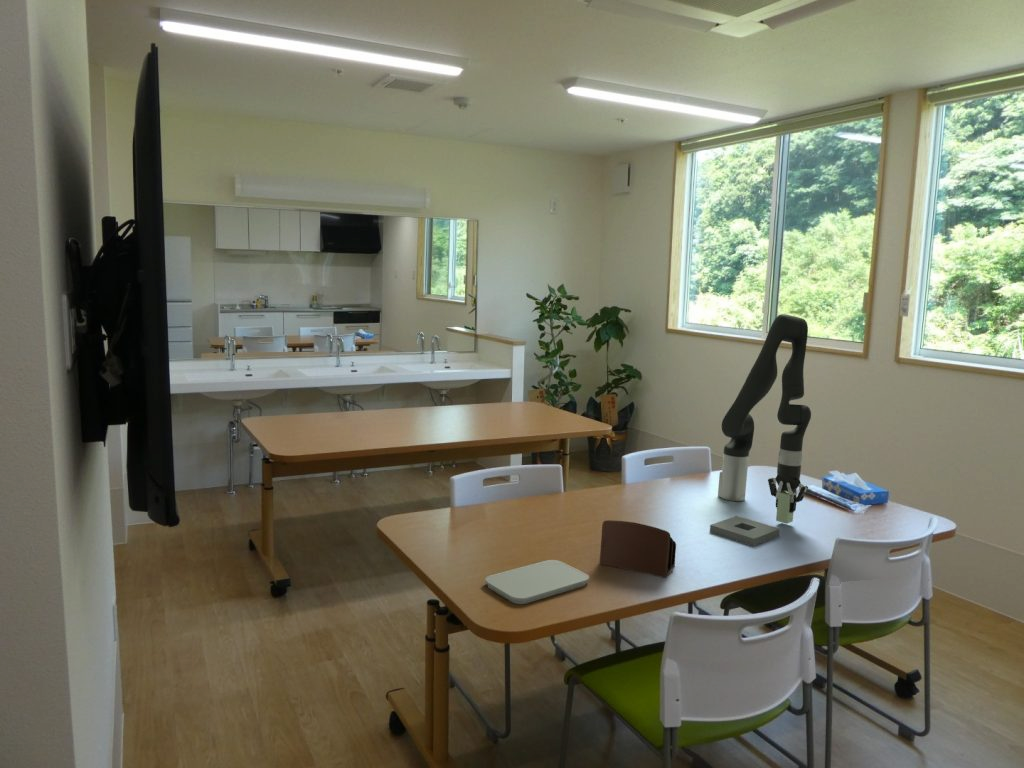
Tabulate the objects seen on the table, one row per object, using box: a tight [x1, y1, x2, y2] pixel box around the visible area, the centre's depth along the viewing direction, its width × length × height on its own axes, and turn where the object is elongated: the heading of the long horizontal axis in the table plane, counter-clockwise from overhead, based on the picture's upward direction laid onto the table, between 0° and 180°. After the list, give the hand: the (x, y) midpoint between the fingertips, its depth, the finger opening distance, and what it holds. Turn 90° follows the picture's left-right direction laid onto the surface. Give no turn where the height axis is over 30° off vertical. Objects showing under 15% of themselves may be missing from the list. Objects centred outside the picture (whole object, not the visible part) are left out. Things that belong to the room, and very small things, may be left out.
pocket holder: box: [709, 515, 781, 547], centre depth 246 cm, size 16×16×2 cm
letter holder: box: [599, 520, 677, 579], centre depth 215 cm, size 10×20×14 cm, turn 65°
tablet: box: [484, 559, 590, 605], centre depth 200 cm, size 16×26×2 cm, turn 127°
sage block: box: [775, 491, 794, 525], centre depth 256 cm, size 4×4×10 cm
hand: (785, 510), depth 256 cm, fingers closed on sage block, 4 cm apart
